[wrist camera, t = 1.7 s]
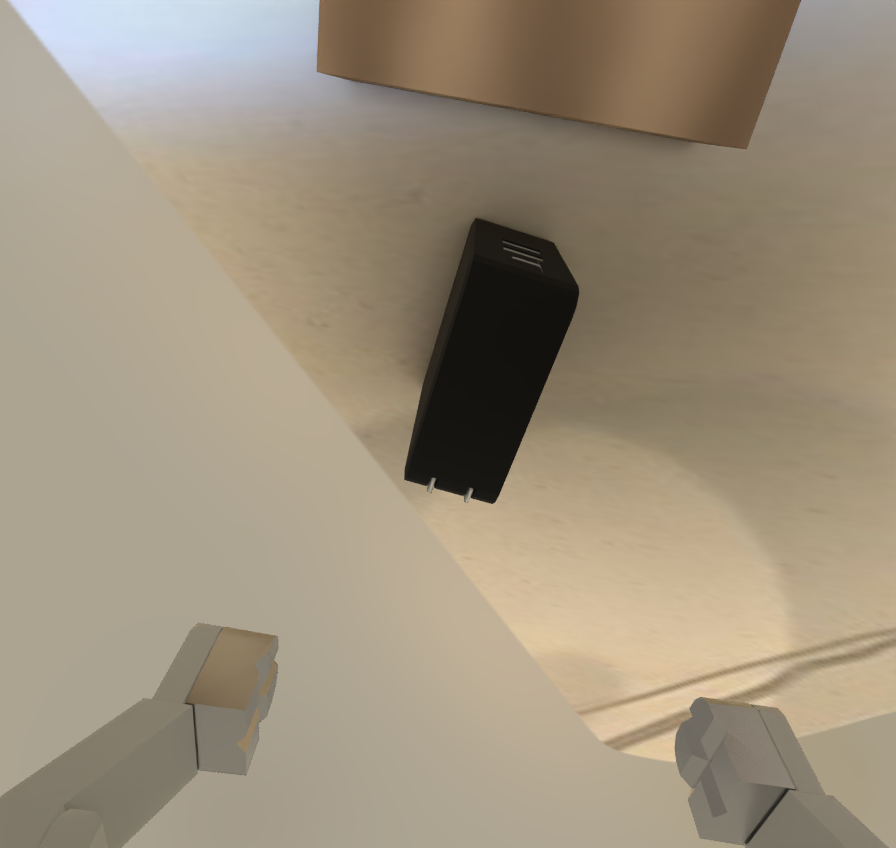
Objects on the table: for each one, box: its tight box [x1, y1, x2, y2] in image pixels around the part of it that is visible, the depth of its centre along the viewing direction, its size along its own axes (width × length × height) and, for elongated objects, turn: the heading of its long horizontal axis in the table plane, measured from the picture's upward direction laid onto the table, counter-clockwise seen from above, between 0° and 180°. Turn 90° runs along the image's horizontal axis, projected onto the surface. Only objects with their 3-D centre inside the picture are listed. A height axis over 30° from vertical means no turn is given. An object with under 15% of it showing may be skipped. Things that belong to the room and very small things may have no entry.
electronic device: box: [404, 218, 579, 504], centre depth 27 cm, size 4×10×10 cm, turn 164°
